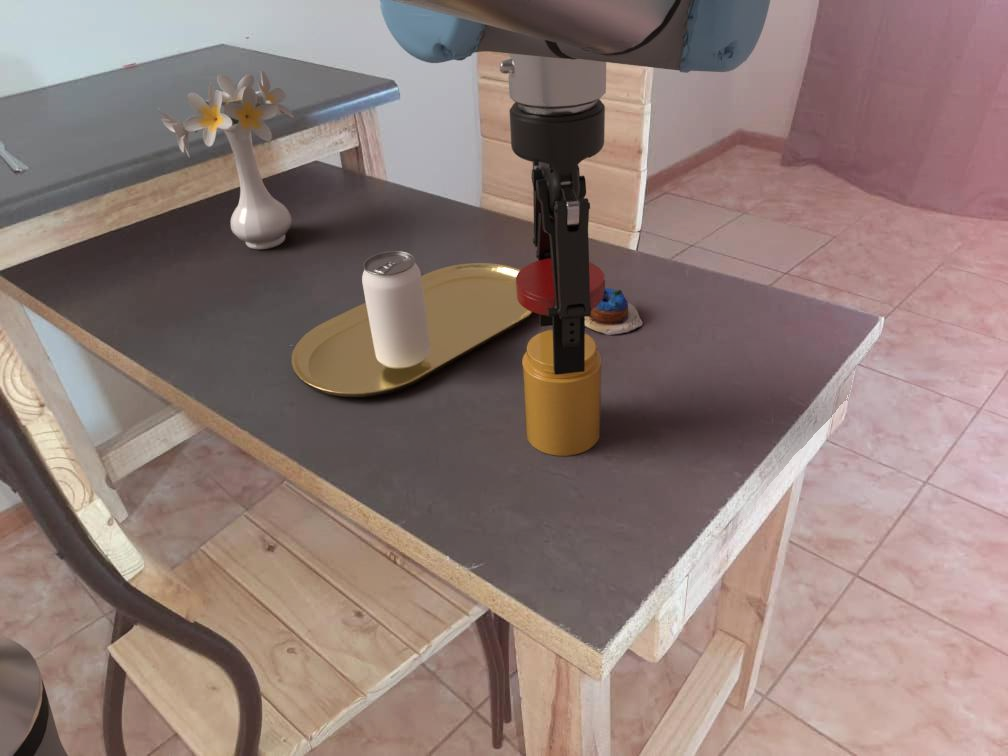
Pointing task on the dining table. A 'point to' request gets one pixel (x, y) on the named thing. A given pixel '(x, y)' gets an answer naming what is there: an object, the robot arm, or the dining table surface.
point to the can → (396, 309)
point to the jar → (561, 399)
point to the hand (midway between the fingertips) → (560, 345)
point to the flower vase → (241, 151)
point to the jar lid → (550, 286)
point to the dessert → (613, 314)
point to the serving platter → (451, 324)
